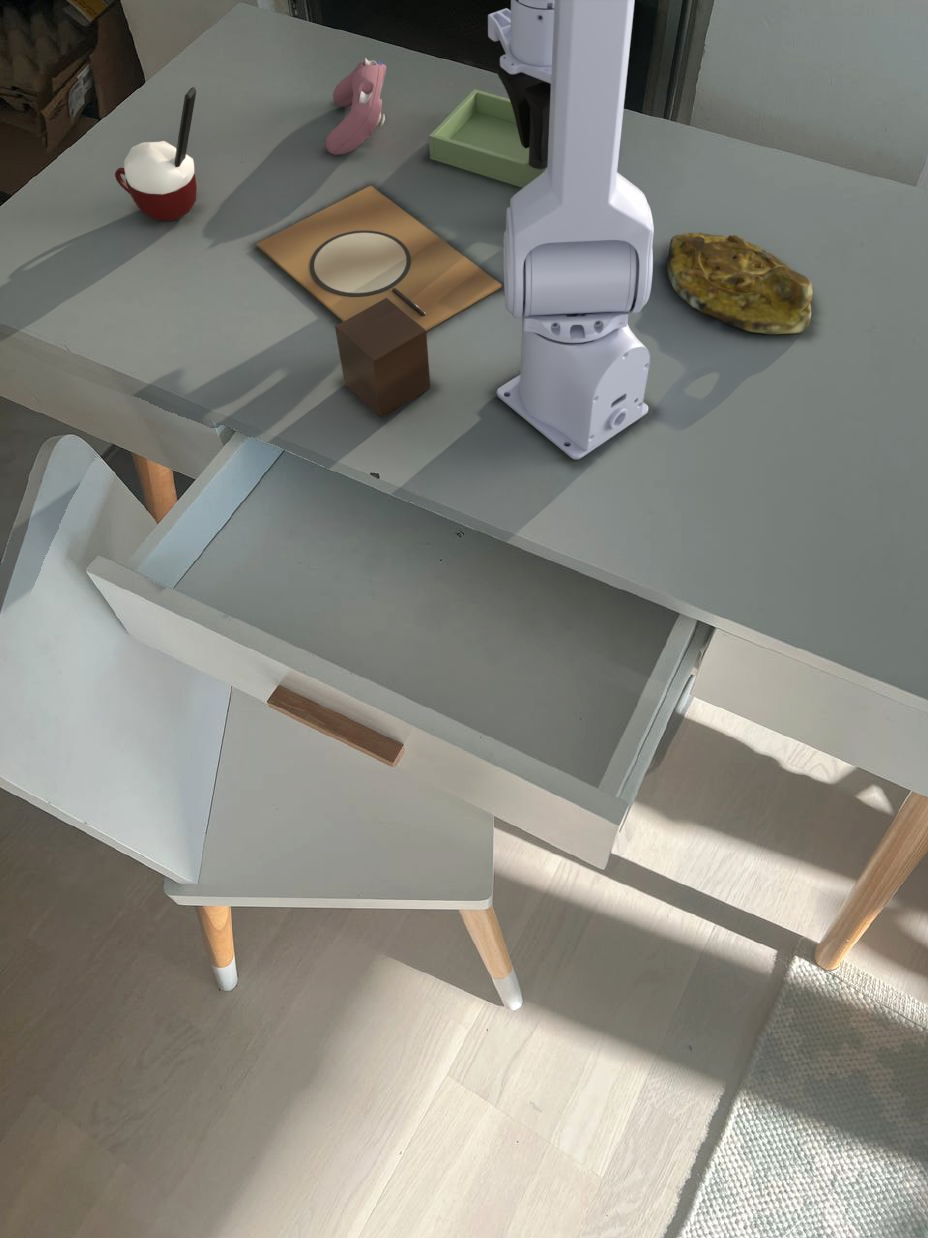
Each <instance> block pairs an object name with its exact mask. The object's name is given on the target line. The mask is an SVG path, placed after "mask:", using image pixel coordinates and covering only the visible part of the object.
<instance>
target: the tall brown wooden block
mask: <svg viewBox="0 0 928 1238" xmlns="http://www.w3.org/2000/svg"><path fill="white" fill-rule="evenodd" d="M334 329H335V335H336V342H337V348H338V352H339V359H340V364H341V371H342V376H343V382H344V385H345V386H346V387H347V388H348V389H350V391H352V392H353V394H355V395H356V396H357V397H358V398H360V400H361V401H363V402H364V403H365V404H366V405H367V406H368V407H369V409H371V410H372V411H373V412H375V414H377V415H378V416H379V417H380V418H384V417H385V416H387V415H389V414H390V413H392V412H394V411H395V410H397V409H399V408H400V407H402V406H403V405H405V404H407V403H408V402H410V401H412V400H413V399H415V398H417V397H418V396H420V395H421V394H423V393H425V392H426V391H428V390H430V389H431V378H430V377H431V376H430V364H429V350H428V337H427V335H428V334H427V331H426V330H425V329H424V328H423V327H421V326H420V325H419V324H418V323H417V322H415V321H414V320H413V319H412V318H411V317H409V316H408V315H407V314H406V313H405V312H403V311H402V310H401V309H400V308H399V307H397V306H396V305H395V304H394V303H392V302H391V301H390V300H389V299H388V298H385V299H383V300H381V301H379V302H378V303H376V304H374V305H372V306H371V307H369V308H367V309H365V310H363V311H362V312H360V313H358V314H356V315H354V316H353V317H351V318H349V319H347V320H345V321H344V322H343V321H342V322H340V323H338V324H337V325H335V326H334Z"/></svg>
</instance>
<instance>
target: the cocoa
mask: <svg viewBox="0 0 928 1238" xmlns="http://www.w3.org/2000/svg"><path fill="white" fill-rule="evenodd" d="M196 96H197V89H196V87H195V86H193V87H190V88H189V90H188V91H187V92H186V93H185V95H184V99H183V105H182V112H181V118H180V123H179V124H180V125H179V131H178V136H177V143H176V147H175V146H174V145H172V144H170V143H169V142H167V141H165V140H160V141H146V142H145V141H144V142H141V143H138V144H136V145H134V146H131V148H130V150H129V151H128V154H127V156H126V157H125V158H124V160H123V167H118V168H117V169H116V171H114V177H115V180H116V182H117V183H118V185H119V186H120V187H121V188H122V189H123V190H124V191H125V192H127V193H128V194H129V195H130V196H131V198H132V201H133V202H134V203H135V205H136V207H137V208H138V209H139V210H140V211H141V212H142V213H143V214H144V215H145V216H147V217H148V218H150V219H154V220H156V221H168V222H170V221H175V220H178V219H181V218H182V217H184V216H186V215H187V214H189V212H190V211H191V210H192V208H193V206H194V205H195V203H196V201H197V178H196V177H197V176H196V172H195V161H194V158H193V157H191V156H190V155H188V154H187V149H188V143H189V137H190V132H191V126H192V121H193V114H194V108H195V102H196V98H197V97H196ZM122 175H123V176H125V180H124V179H123V177H122Z"/></svg>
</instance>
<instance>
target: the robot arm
mask: <svg viewBox="0 0 928 1238" xmlns="http://www.w3.org/2000/svg"><path fill="white" fill-rule="evenodd" d="M634 12H635V0H510V9H509V8H507V7H505V8H503V9H500V10H497V11H495V12H492V13H489V14H487V37H488V38H489V39H490V40H491V41H493V42H498V41H499V42H500V44H501V46H502V48H503V51H504V53H505V54H503V55H501V56H500V57H499V66H498V67H497V76H498V78H499V79H500V81H501V83H502V85H503V87H504V89H505V92H506V94H507V96H508V99H510V102H511V105H512V108H513V111H514V115H515V119H516V124H517V128H518V133H519V137H520V141H521V144H522V146H523V147H524V148H525V149H526V148H529V132H530V110H531V114H532V118H533V125H534V140H535V152H536V156H537V159H538V160H539V161H540V162H544V161H547V160H548V164H547V169H546V170H545V171H544V172H543V173H542V174H541V175H539V176H538V177H537V178H536V179H534V180H533V181H532V182H530V183H529V184H528V185H526V186H525V187H524V188H521V189H520V190H518V192H516V193H515V194H514V195H512V196H511V198H510V200H509V206H507V208H506V212H505V213H506V218H505V230H504V233H503V284H504V285H503V286H504V287H503V289H504V303H505V310H506V311H507V312H508V313H509V314H510V315H511V316H512V318H513V319H520V318H521V341H520V343H521V344H520V345H521V346H520V347H521V348H520V354H521V355H520V374H519V375H517V376H516V377H514V378H512V379H511V380H509V381H507V382H506V383H504V384H503V385H501V386H500V387H498V388H497V389H496V396H497V397H498V399H500V400H501V401H502V402H504V403H505V404H506V405H507V406H508V407H510V408H511V409H512V410H513V411H514V412H516V414H518V415H519V416H520V417H522V418H523V419H524V420H525V421H527V422H528V423H529V424H530V425H531V426H533V428H534V429H536V430H537V431H538V432H539V433H541V434H542V435H543V436H544V437H546V438H547V439H548V440H549V441H550V442H551V443H553V444H554V445H555V446H557V447H558V448H559V449H560V450H561V451H562V452H564V453H565V454H566V455H567V456H568V457H569V458H571V459H572V460H580V459H582V458H583V457H585V456H586V455H588V454H589V453H591V452H592V451H594V450H595V449H597V448H598V447H599V446H601V445H602V444H604V443H605V442H607V441H608V440H610V439H611V438H613V437H614V436H616V435H617V434H618V433H620V432H622V431H623V430H624V429H626V428H628V427H629V426H630V425H632V424H634V423H635V422H637V421H638V420H639V419H641V418H643V417H644V416H645V415H646V414H648V413H649V406H648V404H646V403H645V402H644V400H645V393H646V389H647V388H646V387H647V381H648V376H649V370H650V366H651V354H650V352H649V350H648V348H647V347H646V346H645V345H644V344H643V342H641V341H640V340H639V339H638V338H637V336H636V335H635V334H634V332H633V331H632V330H631V328H630V326H629V324H628V321H629V315H630V314H638V313H640V312H641V311H642V310H643V307H644V306H646V304H647V303H648V301H649V299H650V296H651V291H652V282H653V270H654V269H653V268H654V258H653V254H654V252H653V251H654V250H653V242H654V234H655V232H654V230H655V228H654V220H653V213H652V210H651V206H650V204H649V203H648V201H647V200H648V199H647V198H646V195H645V193H644V192H643V191H642V190H641V189H640V188H639V187H637V186H636V185H635V184H634V183H632V182H631V181H629V180H628V179H627V178H625V177H624V176H623V175H622V174H620V173H619V172H618V167H619V166H618V165H619V157H620V148H621V147H620V146H621V137H622V127H623V119H624V117H623V116H624V110H625V109H624V108H625V99H626V89H627V79H628V78H627V77H628V69H629V59H630V51H631V50H630V48H631V42H632V41H631V40H632V32H633V31H632V30H633V20H634Z"/></svg>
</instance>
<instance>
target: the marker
mask: <svg viewBox="0 0 928 1238" xmlns="http://www.w3.org/2000/svg"><path fill="white" fill-rule="evenodd" d="M547 164H548V160H547V161H544V162H540V161H539V160H538V159H537V156H536V152H535V140H534V125H533V118H532V114H531V110H530V132H529V165H530V166H531V167H533V168H536V169H543V168H546V167H547Z"/></svg>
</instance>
